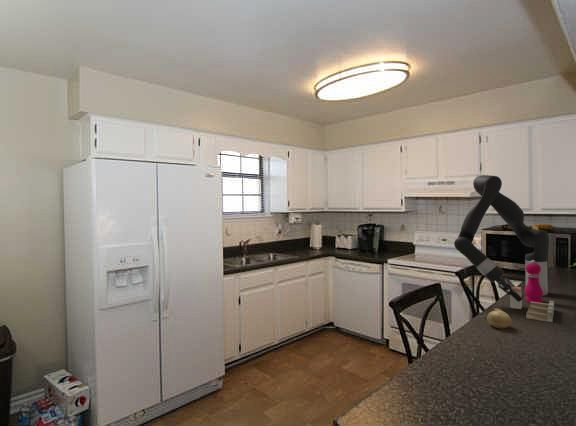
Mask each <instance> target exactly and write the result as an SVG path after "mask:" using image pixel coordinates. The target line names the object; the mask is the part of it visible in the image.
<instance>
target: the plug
mask: <svg viewBox="0 0 576 426" xmlns="http://www.w3.org/2000/svg"><path fill="white" fill-rule="evenodd" d="M512 289H513V290H514V291H515V292H516V293H517V294H518V295H519V296H520V297H521V298H522V295H523V294H522V287H521V286H516V287H514V286H513V287H512ZM509 301H510V303H509V305H510V308H511V309H518V310H522V307H523V298H522V300H521V301H519V302H518V301H517V300H516V299H515V298H514V297H513V296H512V295H509Z"/></svg>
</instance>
